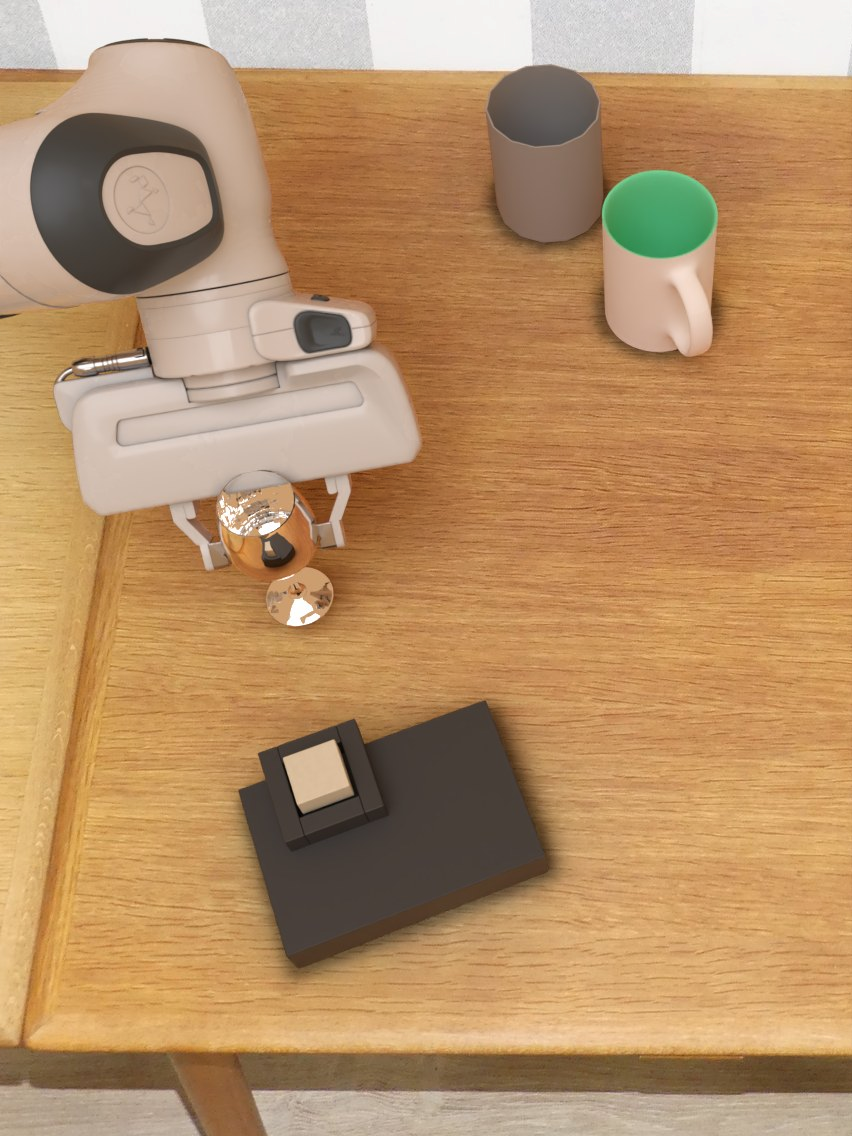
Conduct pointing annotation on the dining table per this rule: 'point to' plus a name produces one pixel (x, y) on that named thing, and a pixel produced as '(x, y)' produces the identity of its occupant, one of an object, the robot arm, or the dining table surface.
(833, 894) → the dining table surface
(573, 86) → the cup
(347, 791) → the square button
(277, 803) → the button panel
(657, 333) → the mug
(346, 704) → the dining table surface
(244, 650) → the dining table surface
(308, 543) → the wineglass
